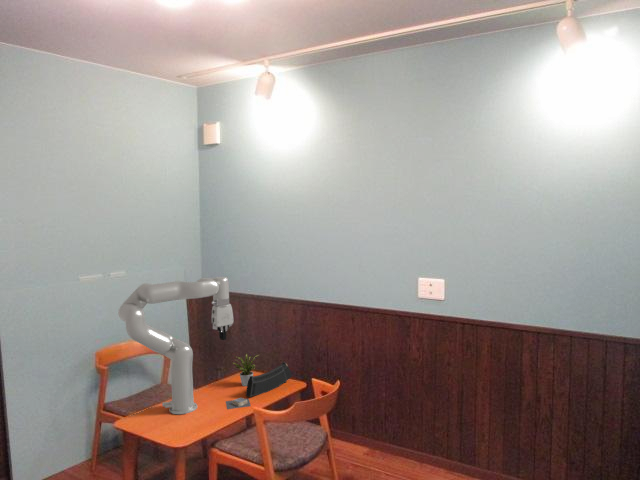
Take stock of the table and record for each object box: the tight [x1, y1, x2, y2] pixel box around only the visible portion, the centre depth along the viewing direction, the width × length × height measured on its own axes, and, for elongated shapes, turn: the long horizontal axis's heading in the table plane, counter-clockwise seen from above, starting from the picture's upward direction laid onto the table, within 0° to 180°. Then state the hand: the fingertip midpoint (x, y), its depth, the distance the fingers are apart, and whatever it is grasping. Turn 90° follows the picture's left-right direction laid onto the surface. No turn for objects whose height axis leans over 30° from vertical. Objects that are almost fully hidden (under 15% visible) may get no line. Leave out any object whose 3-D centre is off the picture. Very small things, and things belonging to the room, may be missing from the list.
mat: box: [225, 397, 252, 410], centre depth 233 cm, size 11×10×1 cm
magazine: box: [245, 361, 292, 398], centre depth 250 cm, size 17×3×30 cm
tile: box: [231, 397, 247, 406], centre depth 233 cm, size 2×5×5 cm
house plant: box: [232, 353, 259, 387], centre depth 259 cm, size 14×14×16 cm
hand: (223, 339), depth 240 cm, fingers closed
